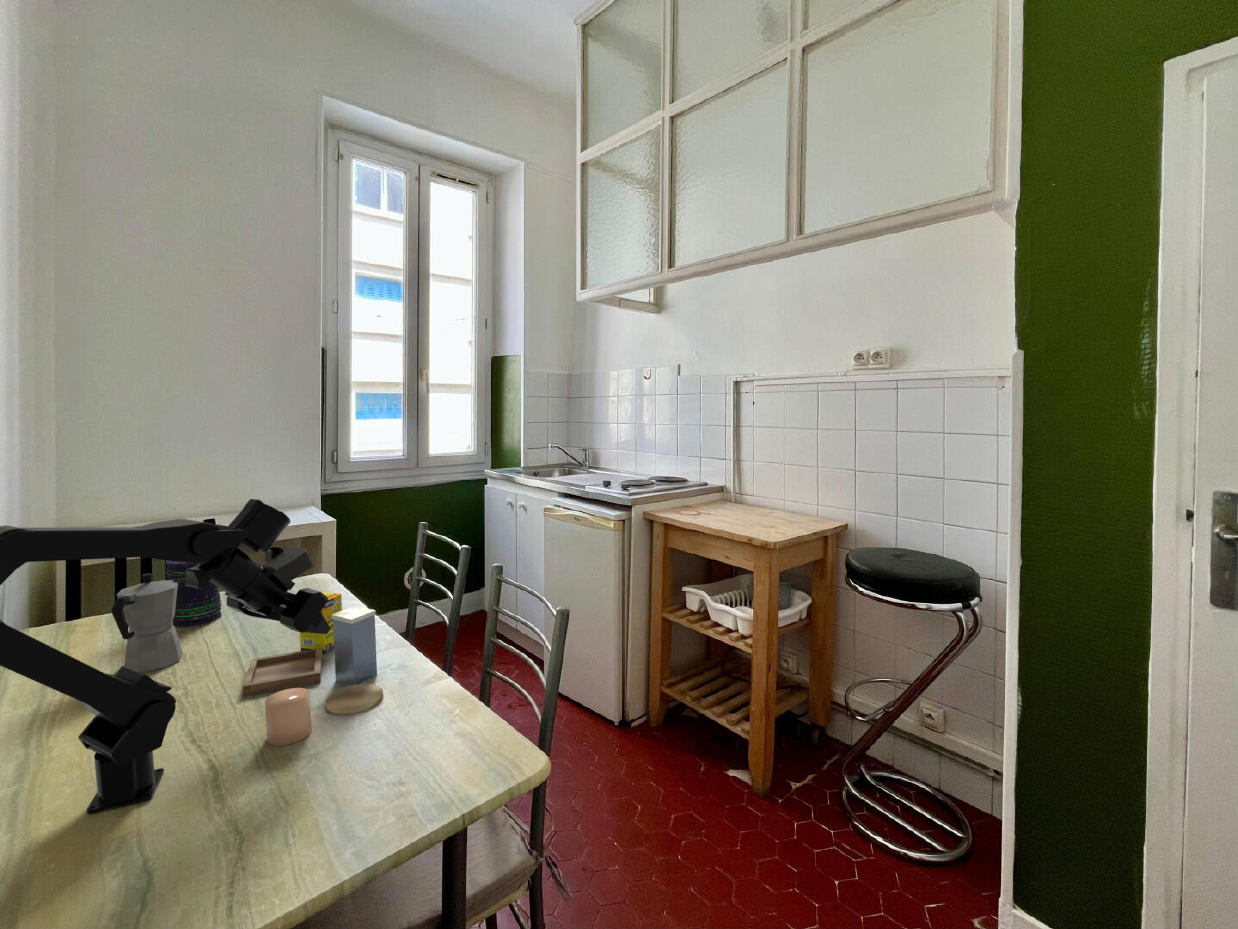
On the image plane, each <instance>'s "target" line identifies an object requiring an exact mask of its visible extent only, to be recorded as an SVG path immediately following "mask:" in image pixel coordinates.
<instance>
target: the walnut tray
mask: <svg viewBox="0 0 1238 929" xmlns="http://www.w3.org/2000/svg"><path fill="white" fill-rule="evenodd" d="M322 664H323V654H322V648H317V649H311V650H305V651H301V650H299V651H293V652H287V653H281V654H275V655H269V656H263V657H257V658H251V660H250V662H249V666H248V668H247V672H246V676H245V678H244V680H243V681H244V682H243V684H242V696H243V697H247V696H251V695H252V696H253V695H257V694H264V693H268V692H274V691H281V690H286V689H291V688H297V687H302V686H306V685H307V686H308V685H311V684H318V683H321V680H322Z"/></svg>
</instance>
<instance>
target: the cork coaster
mask: <svg viewBox="0 0 1238 929" xmlns="http://www.w3.org/2000/svg"><path fill="white" fill-rule="evenodd" d="M383 698H384V690H383V687H381V686H380V685H378V684H376V683H375V684H374V683H361V684H356V685H348V686H344V687H341V688H339V689H337V690H335V691H334V692H332V693H330V694H329V695H328V696H326V700H325V709H326V710H327V712H329V713H331V714H334V715H340V716H341V715H353V714H354V715H355V714H358V713H361V712H366V711H367V710H370V709H372V708H374V707H376V706H377V705H378V704H379V703H380V702H382V700H383ZM375 705H376V706H375Z"/></svg>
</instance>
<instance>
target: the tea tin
mask: <svg viewBox="0 0 1238 929" xmlns="http://www.w3.org/2000/svg"><path fill="white" fill-rule="evenodd" d="M375 616H376V610H375V609H373V608H371V609H370V608H367V607H364V606H363V607H361V606H357V605H355V606H352V607H349V608H345V609H344V610H343V609H342V611H341V612H338V613H335V614H332V619H333V636H334V648H333V650H334V653H333V654H334V656H333V657H334V670H335V671H334V675H335V676H334V677H335V681H336V682H338V681H339V683H342V684H345V685H348V686H351V685H356V684H360V683H361V684H363V683H364V682H363V681H365V682H367V681H369V680H370V679H373V678H374V677H376V676H378V667H377V662H378V661H377V640H376V639H377V638H376V636H377V635H376V618H375ZM375 675H376V676H375ZM373 676H374V677H373ZM368 679H369V680H368ZM366 680H367V681H366ZM362 682H363V683H362Z"/></svg>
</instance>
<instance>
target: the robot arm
mask: <svg viewBox="0 0 1238 929" xmlns="http://www.w3.org/2000/svg"><path fill="white" fill-rule="evenodd" d="M290 524H291V519H290V518H289V516H287V514H286V513H284V512H283V511H282V510H278V509H276V508H274V507H273V506H271V505H268V504H267V503H264V501H262V500H260V499H256V498H250V499H249V500H248V501H247V502H246V503H245V504H244V507H243V508H242V510H240V512H238V514H237V515H236V516H235V518H234V519H233V520H232V521H231V522H230V523H229V524H228V525H222V524H217V523H211V522H207V521H206V522H205V521H199V520H193V519H192V520H191V519H187V518H177V519H176V518H175V519H169V520H163V521H155V522H152V523H147V524H144V525H139V526H130V527H128V526H127V527H125V526H123V527H121V526H120V527H119V526H118V527H116V526H115V527H110V526H109V527H107V526H106V527H101V526H100V527H95V526H93V527H87V526H86V527H83V526H82V527H79V526H78V527H77V526H76V527H17V526H13V525H0V586H1V585H3V583H4V582H5V581H7V579H9V577H10V576H12V574H13V573H14V572H15V571H16V570H18V569H19V568H21V567H22V566H23V565H25V564H26V563H32V562H36V563H37V562H38V563H39V562H54V561H56V562H58V561H80V560H85V561H86V560H104V559H106V560H107V559H109V560H110V559H130V558H147V559H154V560H155V559H156V560H162V561H163V560H164V561H166V560H169V561H176V562H185V563H195V564H198V565H197V566H195V567H193V568H187V569H186V572H187V576H186V582H185V584H186V585H187V586H190V587H194V588H199V589H202V588H204V587H205V585H206V584H207V583H208V582H209V581H210V582H211V583H213V584H214V585H216V586H217V587H218V588H219V589H221V590H222V591H223V592H225V593H224V595H225V596H226V606H227V607H228V608H230V609H232V610H233V611H235V612H237V613H241V614H244V615H246V616H249V617H254V618H258V619H264V620H270V621H276V622H279V623H280V624H281V625H282V626H284V627H286V628H288V629H289V630H292V631H294V632H298V633H299V634H300V633H303V632H306V633H318V634H328V632H329V631H330V629H331V628H330V626H329V625H328V623H327V621H326V619H325V618H324V616H323V614H322V612H321V610H322V609H323V608H324V606H325V605H326V603H327V602H328V597H327V596H325V595H324V594H323V593H322V592H323V591H320V590H316V589H312V588H309V587H305V588H302V589H301V588H300V589H298V590H297V592H296V593H293V592H289V591H291V590H292V589H293V588H294V586H295V585H296V583H295V582H294V581H293V580H295V579H296V578H298V577H299V576H300V575H302V574H303V573H305V572H306V571H310V570H311V569H312V568H313V567H314V565H315V564H314V562H313V560H312V559H311V557H310V554H309V552H308V550H307V549H306V548H304V547H299V546H295V545H294V546H284V548H282V547H281V546H278V545H274V543H275V542H276V541H277V540H278V539H279V537H280V536H281V535H282V534H283V533H284V531H285V530H286V529H287V527H288V526H289V525H290ZM259 551H260V552H263V553H264V562H265V563H264V564H263V565H262V564H260V563H259V562H258V561H256V560H255V559H253V558H252V557H251V556H249V555H248V554H247V553H249V554H253V555H256V554H258V552H259ZM246 552H247V553H246ZM0 667H3V668H5V669H7V670H9V671H12V672H14V673H16V674H18V675H20V676H23V677H25V678H28V679H29V680H31V681H34V682H37V683H38V684H40V685H43V686H44V687H47V688H50V689H52V690H54V691H56V692H59V693H61V694H63V695H66V696H68V697H70V698H72V699H75V700H77V701H78V702H79V703H80V704H82V706H84V707H85V708H86V710H88V711H89V712H90V713H92V714H93V715H94V717H93V718H92V719H91V721H90V722H89V723H88V724H87V725H86V727H85V728H84V729H83V730H82V731H81V733H80V734H79V735H78V737H77V738H78V740H79V741H80V743H81V744H82V745H83V747H84V748H85V749H87V750H91V751H92V752H94V755H93V756H94V757H93V759H94V760H93V761H94V769H95V779H96V790H97V792H96V794H95V795H94V797H93V798H92V800H91V801H90V803H89V805H88V806H87V808H86V813H87V814H93V813H98V812H102V811H105V810H110V809H115V808H119V807H123V806H128V805H132V804H136V803H140V802H145V801H148V800H150V799H152V798H153V797H154V795H155V792H156V791H157V788H158V786H159V784H160V782H161V779H162V778H163V776H164V773H165V768H161V767H160V768H156V769H155V763H154V762H155V761H154V751H155V750H157V749H159V748H161V747H162V745H163V742H164V739H165V736H166V733H167V732H166V731H167V729H168V726H169V723H170V722H171V720H172V718H173V717H174V715H175V711H176V705H177V704H176V703H177V700H176V698H175V696H173V695H172V694H171V693H169V691H171V690H172V686H170V685H167V684H164V683H162V682H159V681H156V680H154V679H153V678H151V677H150V676H149V675H148V674H145V673H144V672H141V673H140V672H137V671H135V670H132V669H130V668H127V667H125V666H124V665H121V666H120V668H119V669H118V671H117V672H116V674H115V675H114V674H109V673H105V672H103V671H101V670H99V669H97V668H95V667H93V666H91V665H89V664H87V663H84V662H82V661H81V660H79V659H77V658H75V657H72V656H71V655H68V654H66V652H62V651H60V650H59V649H56V648H54V647H52V646H50V645H48V644H46V643H44V642H42V641H40V640H38V639H36V638H35V637H32V636H30V635H28V634H27V633H24V632H23V631H20V630H18V629H15V628H14V627H12V626H9V625H8V624H7V623H5V622H4V621H3V620H2V619H0Z"/></svg>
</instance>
